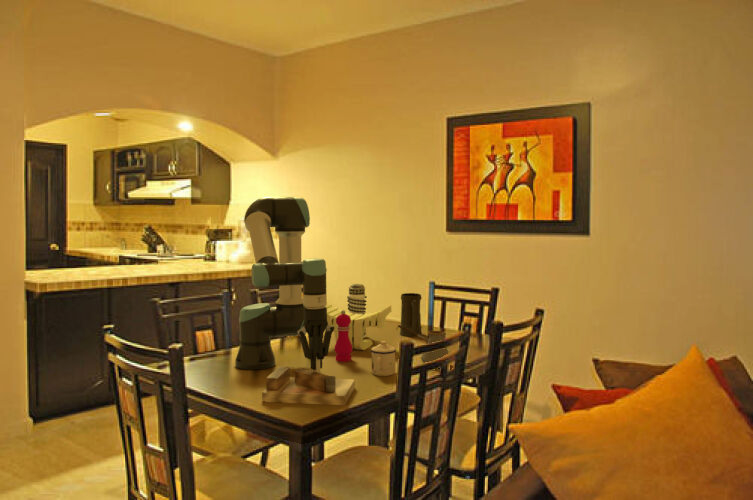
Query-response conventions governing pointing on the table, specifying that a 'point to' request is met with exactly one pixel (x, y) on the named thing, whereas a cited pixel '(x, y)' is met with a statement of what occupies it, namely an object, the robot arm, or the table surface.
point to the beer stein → (410, 313)
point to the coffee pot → (433, 337)
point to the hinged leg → (315, 380)
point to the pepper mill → (343, 338)
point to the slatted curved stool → (357, 324)
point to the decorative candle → (357, 300)
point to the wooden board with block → (303, 390)
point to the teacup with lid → (383, 359)
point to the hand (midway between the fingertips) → (316, 378)
